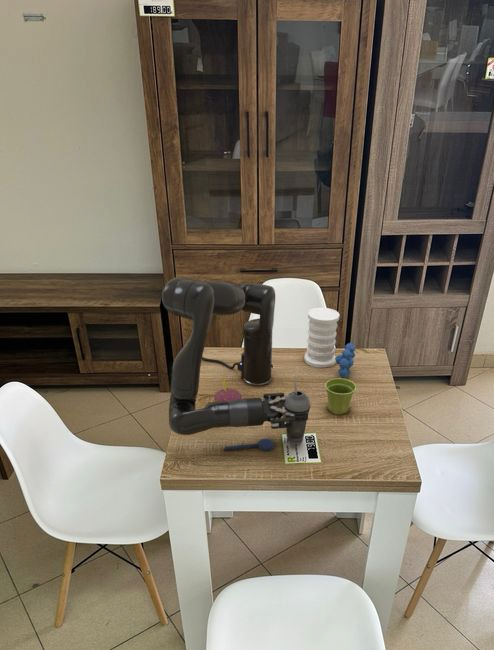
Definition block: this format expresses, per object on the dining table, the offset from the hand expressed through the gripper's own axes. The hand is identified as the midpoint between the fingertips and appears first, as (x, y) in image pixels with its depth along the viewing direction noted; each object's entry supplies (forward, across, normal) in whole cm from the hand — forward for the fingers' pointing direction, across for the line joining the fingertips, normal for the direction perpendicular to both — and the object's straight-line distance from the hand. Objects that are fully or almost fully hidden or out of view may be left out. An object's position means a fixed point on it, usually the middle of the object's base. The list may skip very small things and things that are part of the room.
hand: (304, 408), depth 148 cm
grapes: (+23, +35, +12) cm, 44 cm away
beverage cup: (-2, 0, +11) cm, 11 cm away
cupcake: (-19, +19, +12) cm, 29 cm away
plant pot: (+15, +15, +12) cm, 24 cm away
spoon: (-15, 0, +12) cm, 19 cm away
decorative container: (+18, +47, +12) cm, 52 cm away
